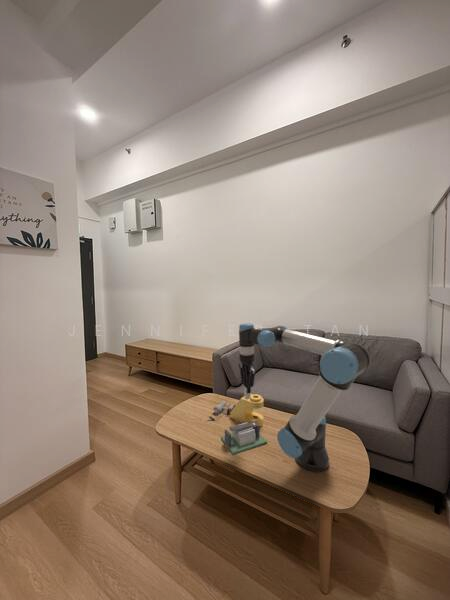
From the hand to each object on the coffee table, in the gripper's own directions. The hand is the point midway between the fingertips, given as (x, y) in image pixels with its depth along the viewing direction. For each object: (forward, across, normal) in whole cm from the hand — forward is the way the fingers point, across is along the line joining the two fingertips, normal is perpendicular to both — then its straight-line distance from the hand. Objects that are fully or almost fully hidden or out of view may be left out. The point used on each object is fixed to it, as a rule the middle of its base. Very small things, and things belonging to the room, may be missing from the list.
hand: (247, 398), depth 128 cm
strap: (+16, +2, +2) cm, 16 cm away
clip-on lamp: (+23, +31, 0) cm, 38 cm away
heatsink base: (+24, +2, +1) cm, 24 cm away
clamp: (+24, +18, -12) cm, 32 cm away
